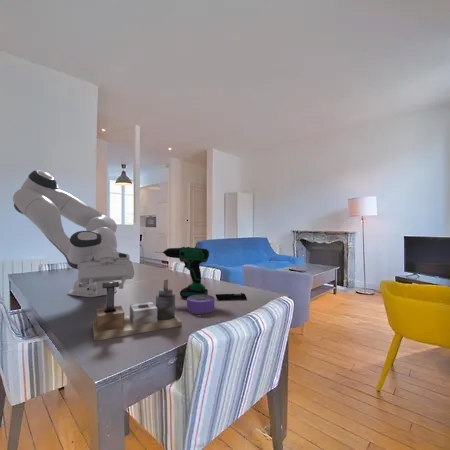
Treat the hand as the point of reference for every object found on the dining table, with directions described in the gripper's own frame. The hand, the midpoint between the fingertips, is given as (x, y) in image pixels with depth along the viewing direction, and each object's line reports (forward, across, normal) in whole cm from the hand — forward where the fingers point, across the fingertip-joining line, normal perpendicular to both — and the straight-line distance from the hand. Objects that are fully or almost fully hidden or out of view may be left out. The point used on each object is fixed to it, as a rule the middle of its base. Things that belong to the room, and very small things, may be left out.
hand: (108, 289), depth 100 cm
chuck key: (+14, 0, -4) cm, 14 cm away
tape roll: (+12, +36, +4) cm, 38 cm away
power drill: (-5, +34, +20) cm, 40 cm away
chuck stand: (+16, +9, -1) cm, 19 cm away
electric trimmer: (+6, +56, +10) cm, 57 cm away
